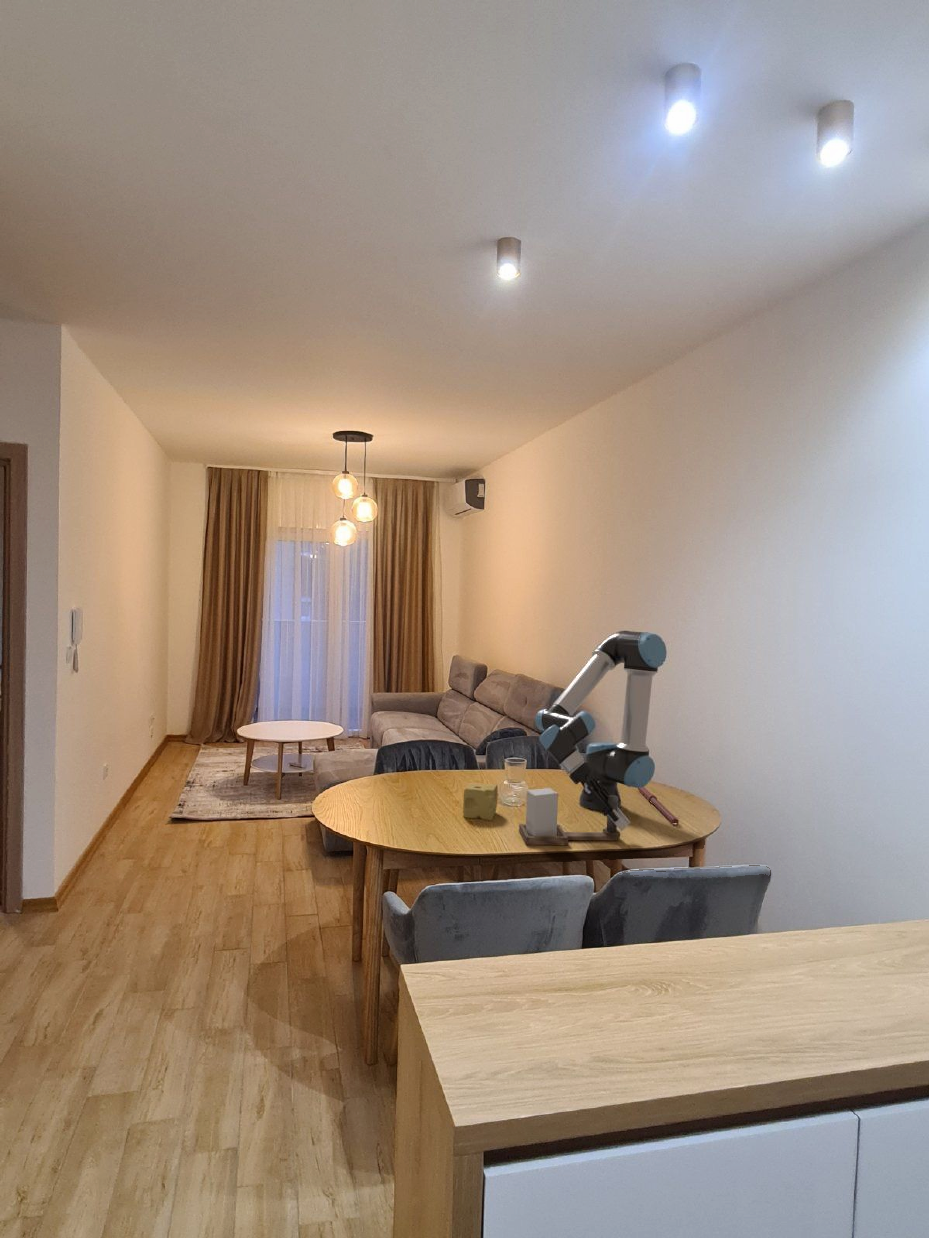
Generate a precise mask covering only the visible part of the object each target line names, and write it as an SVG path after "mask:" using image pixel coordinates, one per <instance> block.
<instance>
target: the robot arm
mask: <svg viewBox="0 0 929 1238" xmlns="http://www.w3.org/2000/svg"><path fill="white" fill-rule="evenodd" d="M667 652H668V651H667V646H666V642H665V641H663V638H662V637H661V636H660V635H659V634H656V633H652V632H642V631H629V630H619V631H616V632H613V634H611V635H609V636H607V637H606V638H605V639H604V640H602V641H601V642H600V643H599V644H598V645H597V646H596V648H595V649H594V650H593V652H592V653H591V658H590V659H589V660H588V661H587V663H586V664H585V665H584V666H583V667H582V669H580V671H579V672H578V674H577V675H576V676H574V678H573V680H572V681H571V682H570V683H569V684H568V685H567V687H566V688H565V689H564V690H563V692H561V694H560V695H559V697H558V698H557V699H556V700H555V701H554V702H553V703H552V705H551V706H550V707H549V708H548V709H541V710H539V711H538V712H537V714H536V715H535V721H534V723H535V725H536V727H537V729H539V731H542V734H540V735H539V742H540V743H541V744H542V746H543V748H544V749H545V750H546V751H547V752H548V753H549V754H550V756H551V757H552V758H553V760H555V762H556V763H557V764H558V765H559V767H560V770H561V771H564V772H565V774H567V775H568V776H569V778H570V780H571V781H572V782H573V783H574V785H578V784H579V783H581V785H582V790H581V793H580V795H579V800H578V801H579V802H578V803H579V804H578V805H580V806H581V807H583V808H585V809H588V808H590V809H589V810H592V809H593V810H592V811H599V810H600V811H601V813H602V815H603V816H604V817H607V814H608V816H609V817H610V818H611V820H612V821H613V822H614V823H615V824H616V826H617V829H619V831H620V832H622V831H624V830H625V829H627V828H628V826H629V825H630V824H631V821H630V820H629V819H628V817H627V816H626V815H625V813H623V812H622V810H621V808H622V799H621V796H620V791H619V788H618V784H621V785H624V786H626V787H628V788H636V789H638V788H641V787H644V788H645V787H646V786H647V785H648V784H649V783H650V782H651V780H652V778H653V777H654V774H655V770H656V767H655V766H656V765H655V762H654V759H653V758H652V757H650V748H648V746H647V743H646V742H647V734H648V733H647V732H648V723H649V713H650V705H651V704H650V703H651V695H652V694H651V693H652V686H653V685H652V684H653V677H654V676H655V675H656V674H657V673H658V672H659V671H658V669H659V668H660V667H661V666H662V665H664V662H665V661H666V660H667ZM620 664H624V665H623V669H624V671H625V672H626V674H627V677H626V686H625V687H626V688H625V695H624V704H623V705H624V707H623V717H622V725H621V726H622V727H621V735H620V742H612V741H611V742H610V741H609V742H607V741H606V742H605V741H604V742H603V741H602V742H591V743H589V744H588V745H587V746H586V753H585V758H584V755H582V754H581V753H580V752H579V751H578V749H577V748H576V747H575V746H576V745H578V743H580V742H581V741H583V740H584V739H585V738H586V737H588V736H589V735H590V734H591V733H592V732H593V731H594V730H595V729H596V722H595V718H593V717H594V716H592V715H591V714H590V713H589V712H587V711H586V710H582V711H580V712H577V713H576V711H577V710H578V708H579V707H580V706H581V705H582V704H583V702H584V701H586V699H587V698H588V696H589V695H590V694H591V693H592V691H593V690H594V689H595V688H596V686H597V685H599V683H600V682H601V680H602V679H603V678H604V677H605V675H606V674H608V672H609V671H612V670H614V669H615V668H616V667H617V665H620ZM575 713H576V714H575ZM574 714H575V715H574ZM609 795H615V796H618V813H617V812H616V810H615V809H614V810H613V809H612V807H611V806H610V805H609V803H608V796H609ZM620 807H621V808H620ZM619 808H620V809H619Z"/></svg>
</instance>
